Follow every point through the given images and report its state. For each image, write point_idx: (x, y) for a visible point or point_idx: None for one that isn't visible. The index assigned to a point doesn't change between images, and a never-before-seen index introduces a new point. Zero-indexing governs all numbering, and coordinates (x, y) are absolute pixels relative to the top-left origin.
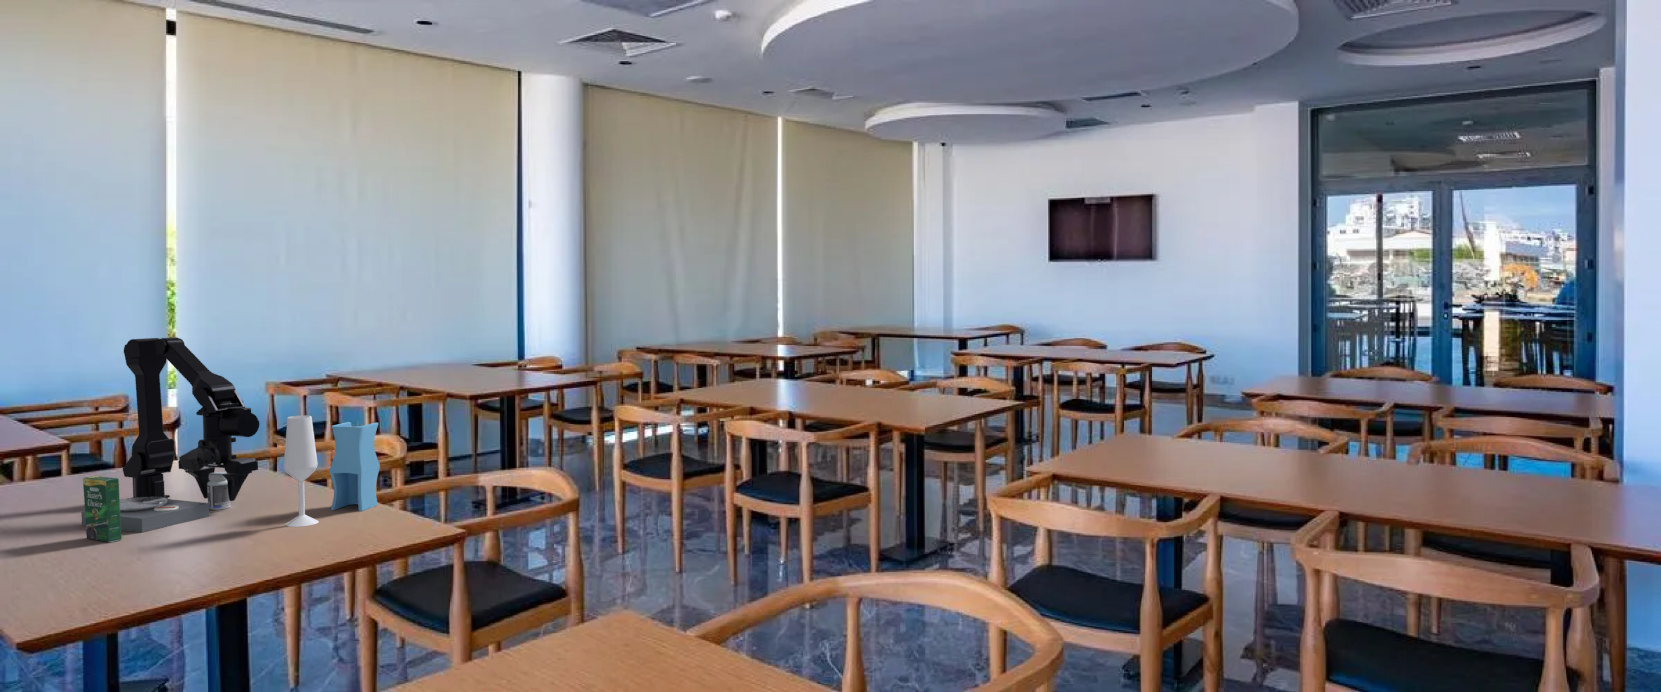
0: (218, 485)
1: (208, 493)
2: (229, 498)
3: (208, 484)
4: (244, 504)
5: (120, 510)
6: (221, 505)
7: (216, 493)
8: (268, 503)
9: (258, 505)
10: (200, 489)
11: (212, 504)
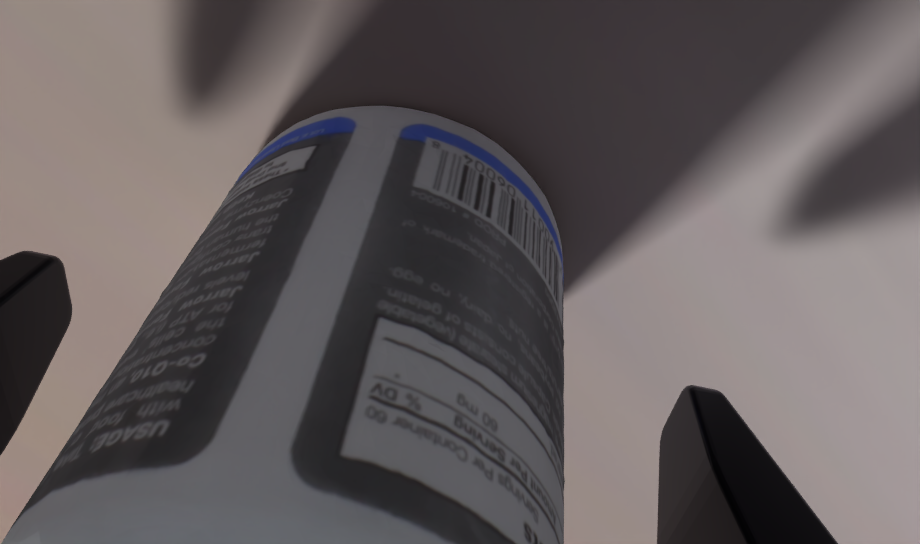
0: (40, 501)
1: (433, 324)
2: (22, 277)
3: (367, 541)
4: None
5: None
6: (237, 185)
7: (185, 306)
8: (38, 477)
9: (37, 401)
10: (828, 538)
11: (357, 147)
